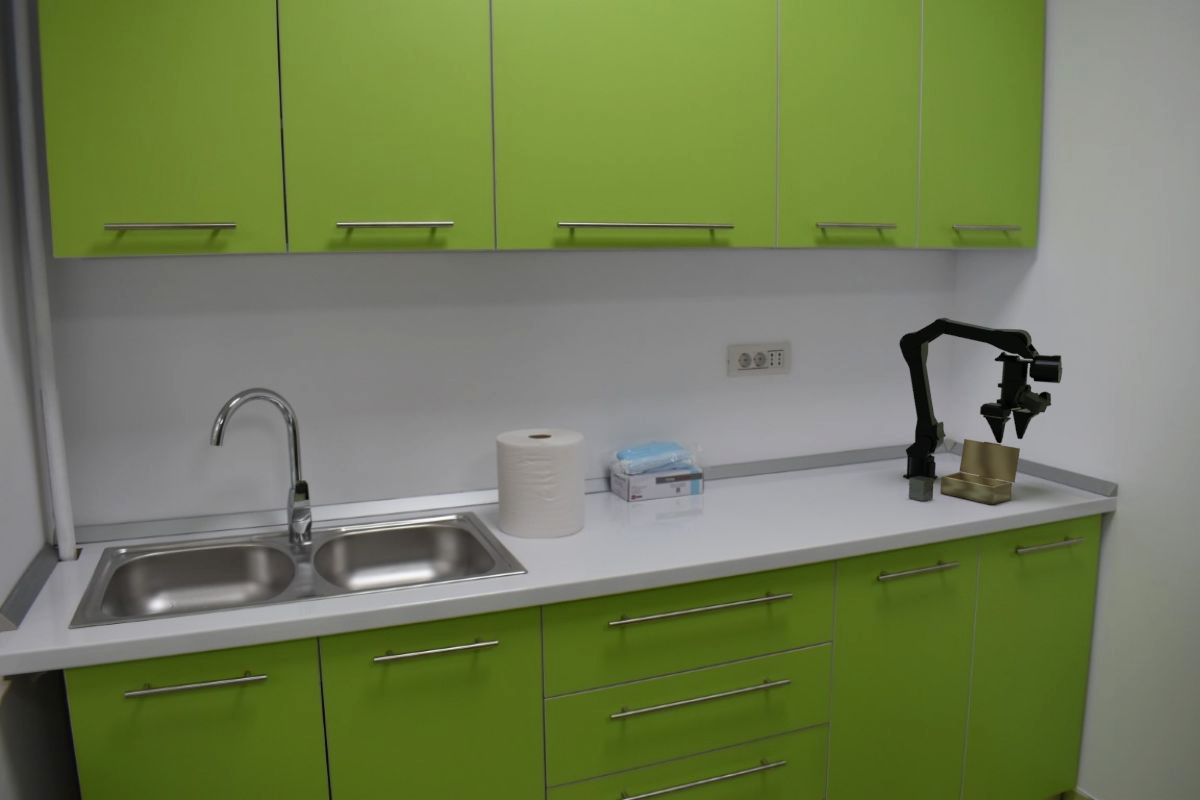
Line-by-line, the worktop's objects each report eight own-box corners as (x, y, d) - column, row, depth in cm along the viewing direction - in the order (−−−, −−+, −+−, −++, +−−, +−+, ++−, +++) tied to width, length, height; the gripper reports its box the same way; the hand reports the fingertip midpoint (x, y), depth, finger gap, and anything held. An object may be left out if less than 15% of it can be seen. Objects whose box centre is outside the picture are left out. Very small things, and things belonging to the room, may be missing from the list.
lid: (964, 438, 223) (966, 438, 223) (959, 472, 223) (961, 472, 224) (1018, 447, 211) (1020, 447, 212) (1012, 483, 212) (1014, 483, 212)
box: (940, 492, 219) (941, 476, 219) (959, 487, 224) (959, 471, 223) (992, 504, 208) (993, 487, 207) (1010, 499, 212) (1011, 482, 212)
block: (908, 497, 215) (909, 478, 215) (918, 495, 218) (919, 475, 217) (922, 501, 212) (923, 481, 211) (932, 498, 214) (933, 478, 213)
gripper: (1023, 386, 207) (1018, 451, 209) (1066, 380, 217) (1061, 442, 219) (980, 381, 216) (976, 443, 218) (1024, 375, 226) (1019, 434, 229)
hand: (1009, 440), depth 221 cm, fingers open, 9 cm apart
